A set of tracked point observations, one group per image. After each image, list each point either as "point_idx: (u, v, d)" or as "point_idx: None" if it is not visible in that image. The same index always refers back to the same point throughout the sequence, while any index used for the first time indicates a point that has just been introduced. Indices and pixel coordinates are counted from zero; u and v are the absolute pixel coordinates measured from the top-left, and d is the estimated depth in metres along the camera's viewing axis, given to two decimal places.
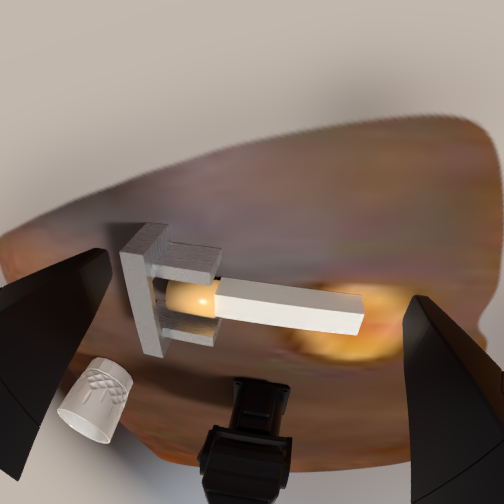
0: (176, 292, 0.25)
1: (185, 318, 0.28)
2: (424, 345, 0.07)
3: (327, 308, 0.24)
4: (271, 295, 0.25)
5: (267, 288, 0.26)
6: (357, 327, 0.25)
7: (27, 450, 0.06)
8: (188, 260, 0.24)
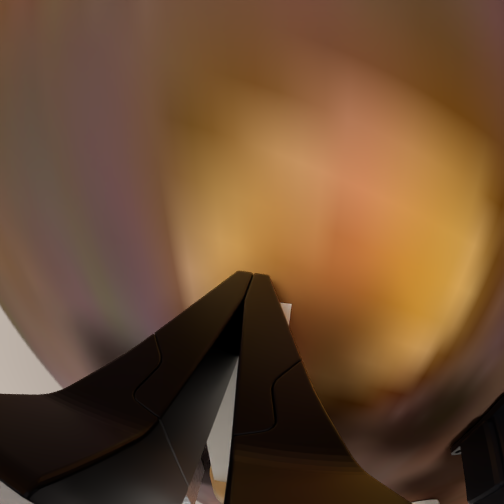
0: (217, 497, 0.16)
1: None
2: None
3: None
4: None
5: None
6: None
7: None
8: None
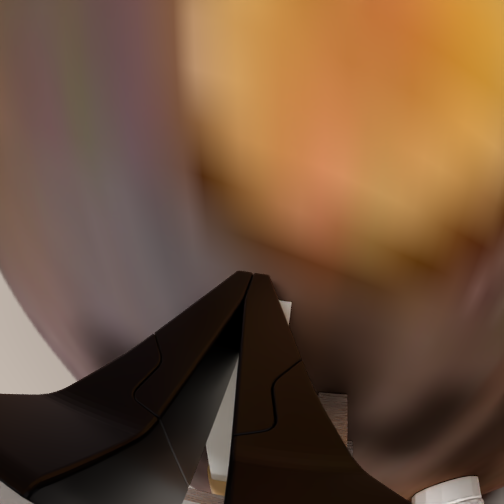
0: None
1: None
2: None
3: None
4: None
5: None
6: None
7: None
8: None
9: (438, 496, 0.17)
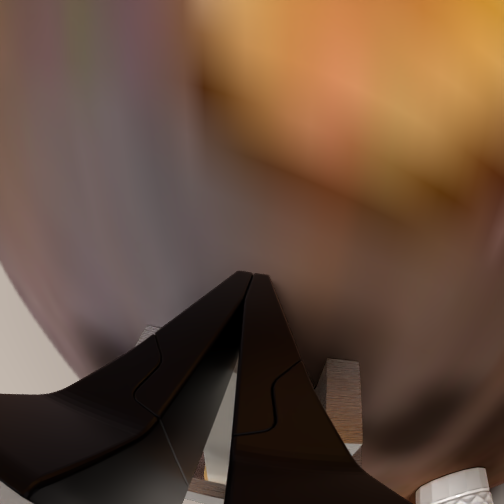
0: None
1: None
2: (242, 324, 0.07)
3: None
4: None
5: None
6: None
7: None
8: None
9: (445, 489, 0.16)
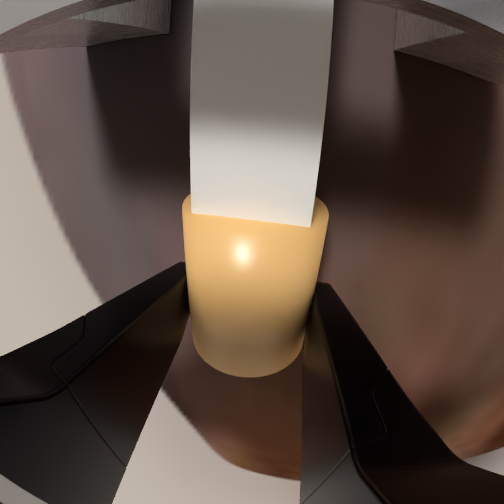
0: (199, 335, 0.08)
1: None
2: (312, 334, 0.07)
3: None
4: None
5: None
6: None
7: (111, 494, 0.05)
8: None
9: None
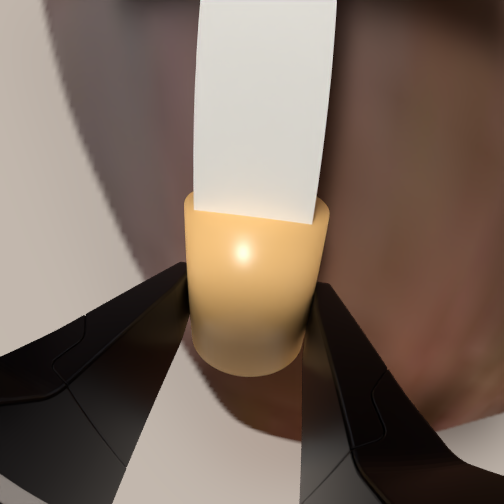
0: (199, 334, 0.08)
1: None
2: (311, 334, 0.07)
3: None
4: None
5: None
6: None
7: (111, 494, 0.05)
8: None
9: None
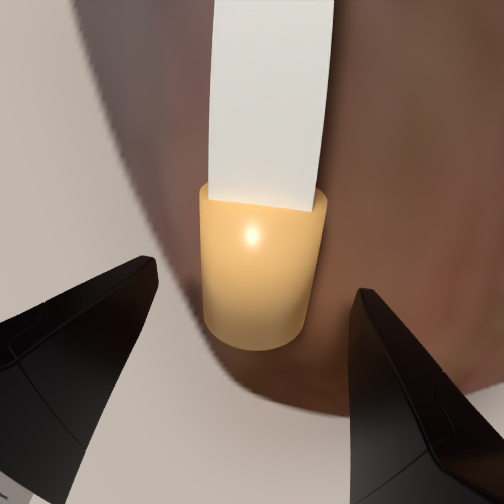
0: (211, 311, 0.09)
1: None
2: (362, 340, 0.07)
3: None
4: None
5: None
6: None
7: (72, 475, 0.06)
8: None
9: None
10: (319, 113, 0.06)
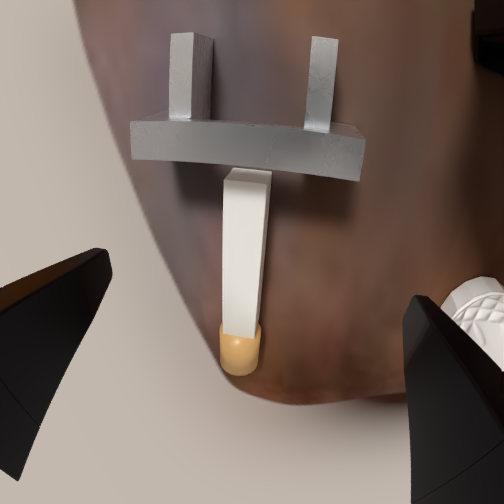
0: (223, 363, 0.25)
1: None
2: (424, 345, 0.07)
3: (223, 226, 0.19)
4: None
5: None
6: (250, 185, 0.17)
7: (27, 450, 0.06)
8: None
9: (467, 293, 0.19)
10: (254, 317, 0.22)
